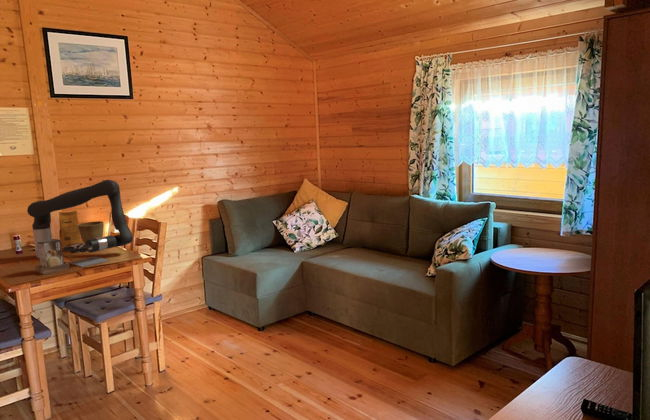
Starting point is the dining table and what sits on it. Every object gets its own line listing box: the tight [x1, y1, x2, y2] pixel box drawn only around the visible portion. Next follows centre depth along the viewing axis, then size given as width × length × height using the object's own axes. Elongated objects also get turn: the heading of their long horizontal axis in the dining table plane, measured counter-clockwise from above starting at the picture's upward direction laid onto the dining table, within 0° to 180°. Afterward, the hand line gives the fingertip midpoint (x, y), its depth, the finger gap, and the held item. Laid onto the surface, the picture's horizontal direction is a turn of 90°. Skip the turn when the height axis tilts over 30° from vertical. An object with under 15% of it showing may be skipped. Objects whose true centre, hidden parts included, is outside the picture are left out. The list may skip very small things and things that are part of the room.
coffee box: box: [37, 238, 65, 268], centre depth 261 cm, size 9×6×16 cm
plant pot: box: [77, 220, 105, 244], centre depth 309 cm, size 15×15×16 cm
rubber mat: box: [68, 256, 109, 268], centre depth 276 cm, size 15×15×1 cm
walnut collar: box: [35, 261, 71, 275], centre depth 262 cm, size 10×13×3 cm
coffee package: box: [58, 209, 82, 247], centre depth 323 cm, size 10×12×22 cm
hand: (67, 250), depth 267 cm, fingers open, 8 cm apart
